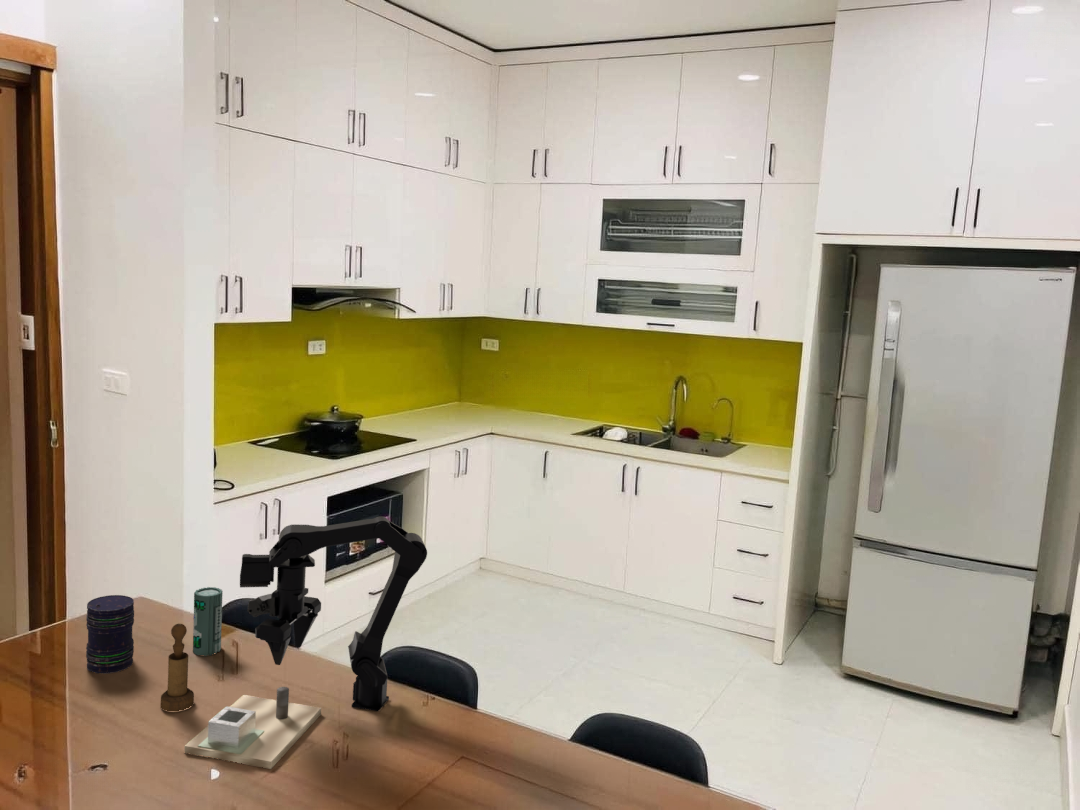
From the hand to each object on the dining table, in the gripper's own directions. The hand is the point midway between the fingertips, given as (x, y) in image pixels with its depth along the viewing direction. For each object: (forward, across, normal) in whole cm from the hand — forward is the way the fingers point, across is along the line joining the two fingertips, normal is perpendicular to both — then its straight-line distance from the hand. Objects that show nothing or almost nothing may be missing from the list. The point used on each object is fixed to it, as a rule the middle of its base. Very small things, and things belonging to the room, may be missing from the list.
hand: (288, 655), depth 184 cm
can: (+12, -20, -31) cm, 39 cm away
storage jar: (+12, -6, -47) cm, 49 cm away
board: (+12, +11, -1) cm, 16 cm away
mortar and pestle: (+12, +6, -22) cm, 26 cm away
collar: (+10, +17, -3) cm, 20 cm away
